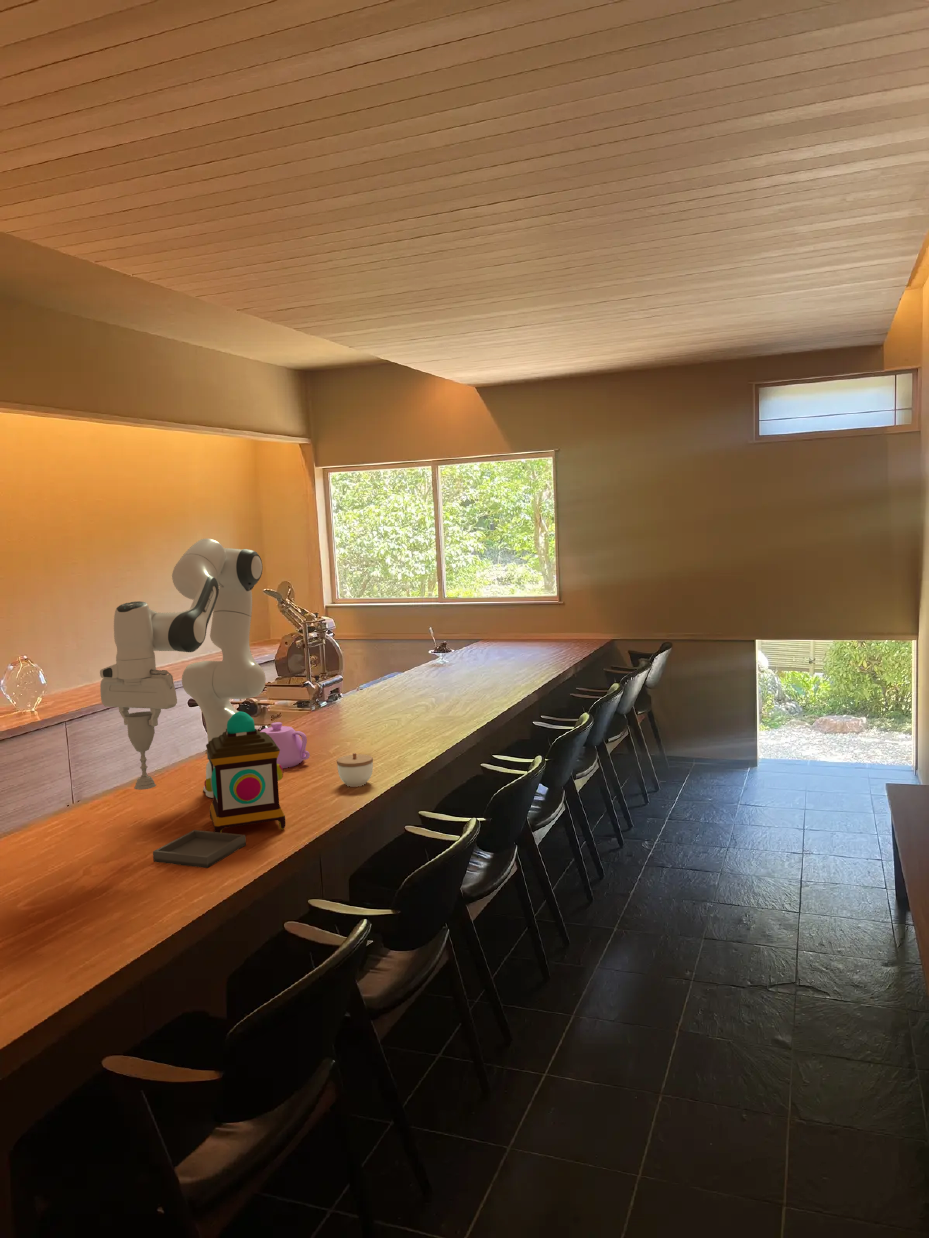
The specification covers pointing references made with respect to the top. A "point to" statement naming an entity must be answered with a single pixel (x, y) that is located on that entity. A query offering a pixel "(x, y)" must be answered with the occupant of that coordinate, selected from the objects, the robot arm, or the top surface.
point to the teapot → (288, 744)
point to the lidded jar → (355, 769)
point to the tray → (199, 848)
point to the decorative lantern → (244, 776)
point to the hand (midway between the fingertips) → (141, 725)
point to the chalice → (141, 743)
